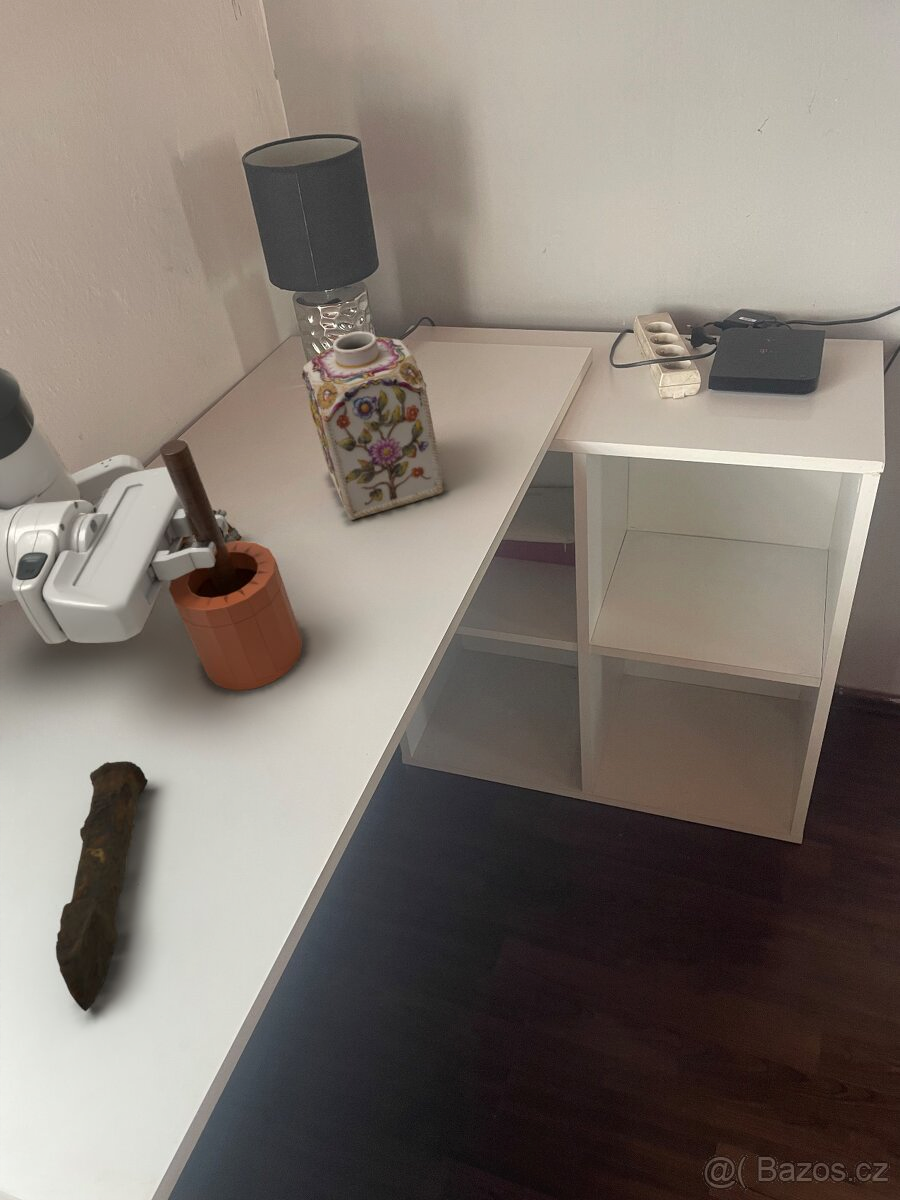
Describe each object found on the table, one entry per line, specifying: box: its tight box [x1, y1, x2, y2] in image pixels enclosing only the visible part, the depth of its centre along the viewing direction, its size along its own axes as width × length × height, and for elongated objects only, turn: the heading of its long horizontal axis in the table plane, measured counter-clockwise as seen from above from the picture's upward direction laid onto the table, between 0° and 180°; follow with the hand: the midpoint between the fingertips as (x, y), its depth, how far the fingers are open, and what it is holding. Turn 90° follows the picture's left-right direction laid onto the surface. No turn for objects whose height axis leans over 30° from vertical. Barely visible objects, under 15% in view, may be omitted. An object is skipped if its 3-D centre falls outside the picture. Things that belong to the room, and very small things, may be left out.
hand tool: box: [55, 760, 149, 1012], centre depth 64 cm, size 19×4×5 cm, turn 6°
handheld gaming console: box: [70, 454, 146, 506], centre depth 96 cm, size 11×3×15 cm
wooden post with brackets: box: [177, 508, 243, 551], centre depth 97 cm, size 2×8×4 cm, turn 84°
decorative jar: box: [301, 330, 443, 521], centre depth 97 cm, size 12×12×18 cm
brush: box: [159, 439, 242, 597], centre depth 76 cm, size 3×3×22 cm
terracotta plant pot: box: [168, 540, 303, 691], centre depth 80 cm, size 9×9×10 cm
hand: (220, 540), depth 75 cm, fingers closed on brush, 2 cm apart
